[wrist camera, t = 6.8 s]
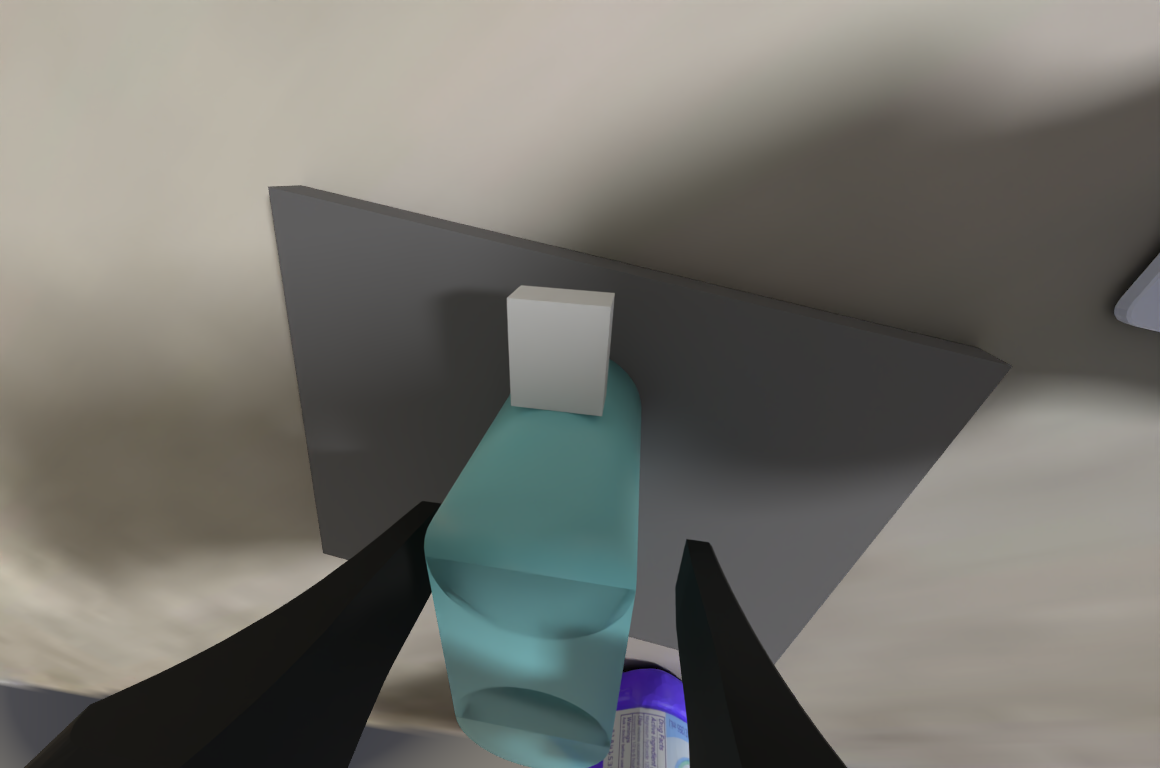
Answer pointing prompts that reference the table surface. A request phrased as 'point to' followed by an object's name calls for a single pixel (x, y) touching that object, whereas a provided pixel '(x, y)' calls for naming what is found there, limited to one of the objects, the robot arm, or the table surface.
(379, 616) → the robot arm
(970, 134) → the table surface
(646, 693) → the bottle
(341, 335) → the rubber mat
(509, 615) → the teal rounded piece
